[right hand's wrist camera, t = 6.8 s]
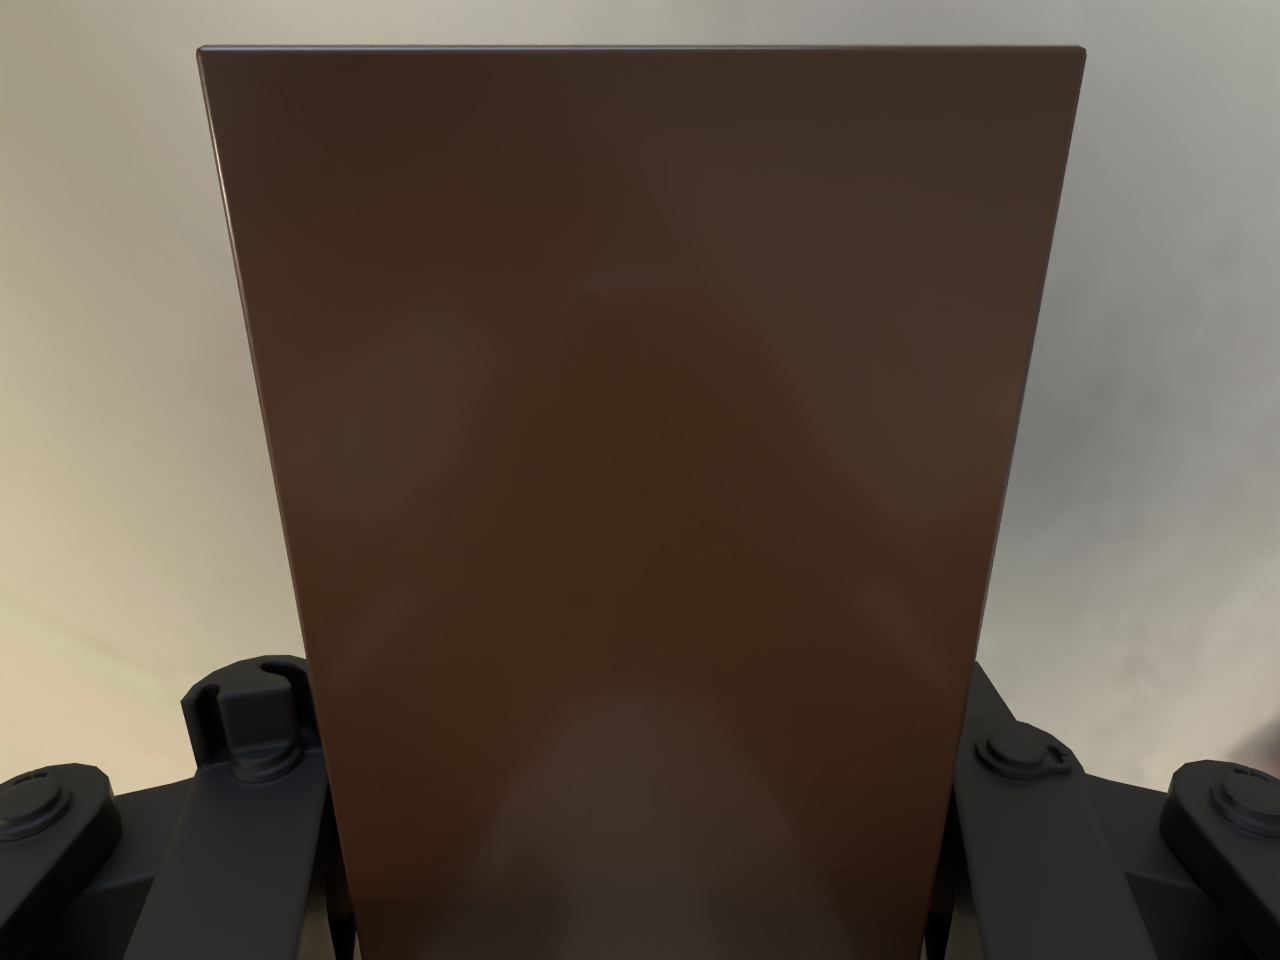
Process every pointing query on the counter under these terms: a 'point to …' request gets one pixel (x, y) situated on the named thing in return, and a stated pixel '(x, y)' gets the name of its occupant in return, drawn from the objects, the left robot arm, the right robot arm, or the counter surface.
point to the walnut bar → (641, 467)
